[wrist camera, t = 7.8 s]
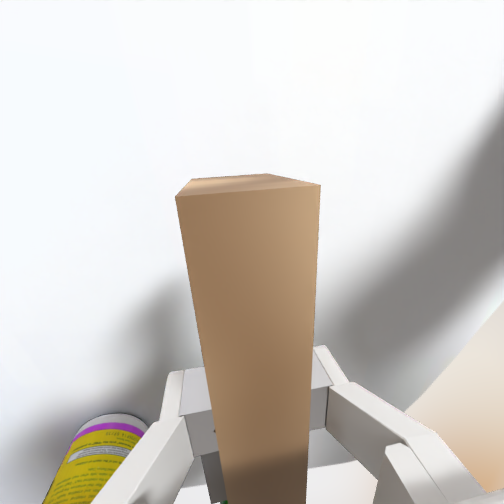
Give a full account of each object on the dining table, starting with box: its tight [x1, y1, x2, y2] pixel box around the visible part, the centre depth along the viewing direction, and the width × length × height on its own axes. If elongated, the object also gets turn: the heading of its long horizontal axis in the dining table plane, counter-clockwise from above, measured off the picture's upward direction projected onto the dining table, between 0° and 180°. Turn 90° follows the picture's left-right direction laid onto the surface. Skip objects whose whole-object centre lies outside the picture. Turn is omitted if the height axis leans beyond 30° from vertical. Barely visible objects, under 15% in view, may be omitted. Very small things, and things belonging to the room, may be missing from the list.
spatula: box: [175, 174, 321, 504], centre depth 9 cm, size 5×16×4 cm, turn 4°
